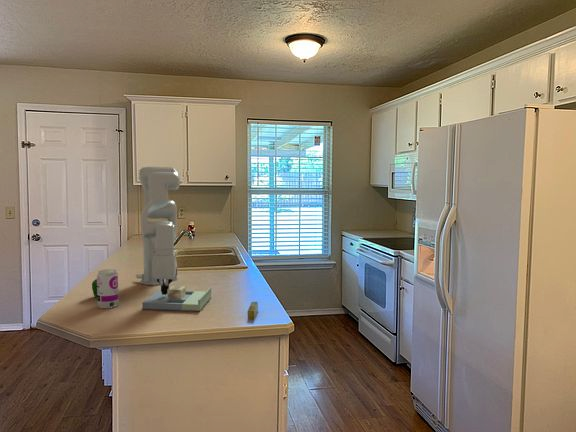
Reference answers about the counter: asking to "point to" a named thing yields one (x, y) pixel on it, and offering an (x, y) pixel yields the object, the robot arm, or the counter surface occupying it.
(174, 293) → the maple block
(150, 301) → the slate trap deck
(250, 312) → the medication box
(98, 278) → the supplement can
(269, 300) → the counter surface
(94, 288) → the bell pepper
